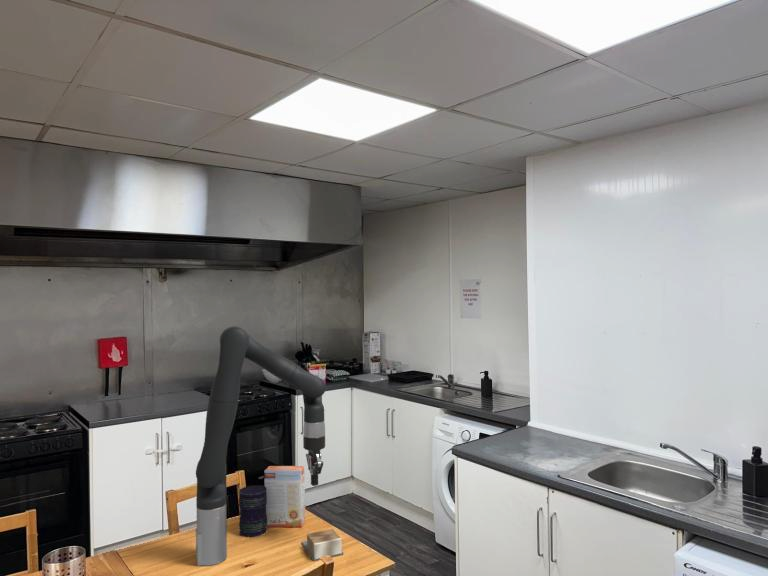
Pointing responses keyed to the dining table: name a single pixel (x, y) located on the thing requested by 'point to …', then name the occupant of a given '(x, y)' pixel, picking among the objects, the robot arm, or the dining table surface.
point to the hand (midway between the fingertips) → (314, 485)
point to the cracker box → (285, 496)
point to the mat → (311, 554)
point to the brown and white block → (324, 543)
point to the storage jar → (253, 511)
